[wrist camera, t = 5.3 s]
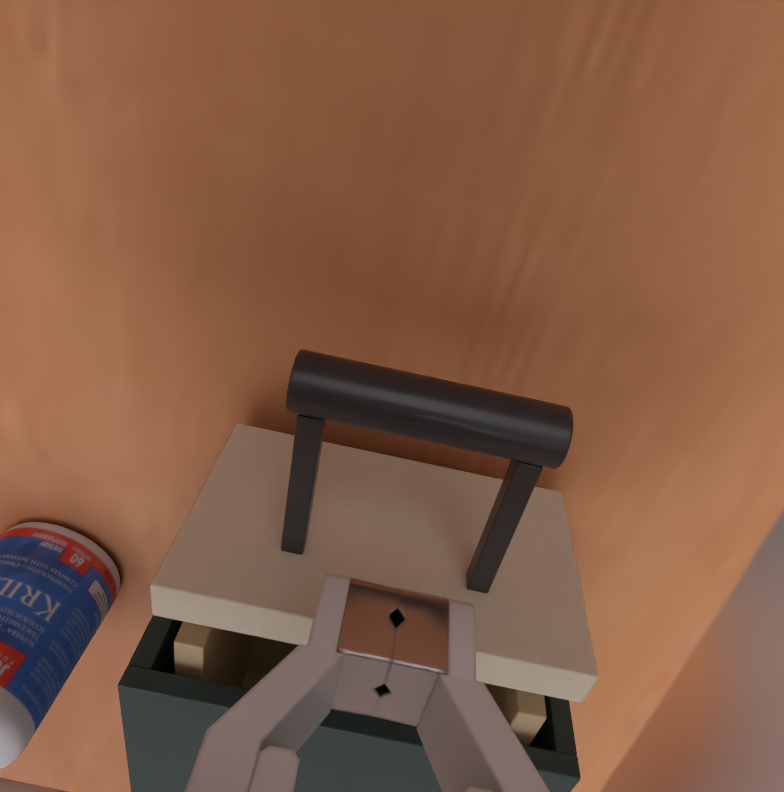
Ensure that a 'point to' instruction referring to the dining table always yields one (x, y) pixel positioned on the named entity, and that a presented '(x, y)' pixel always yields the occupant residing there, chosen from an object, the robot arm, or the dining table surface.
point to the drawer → (385, 533)
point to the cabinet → (320, 754)
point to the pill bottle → (45, 620)
